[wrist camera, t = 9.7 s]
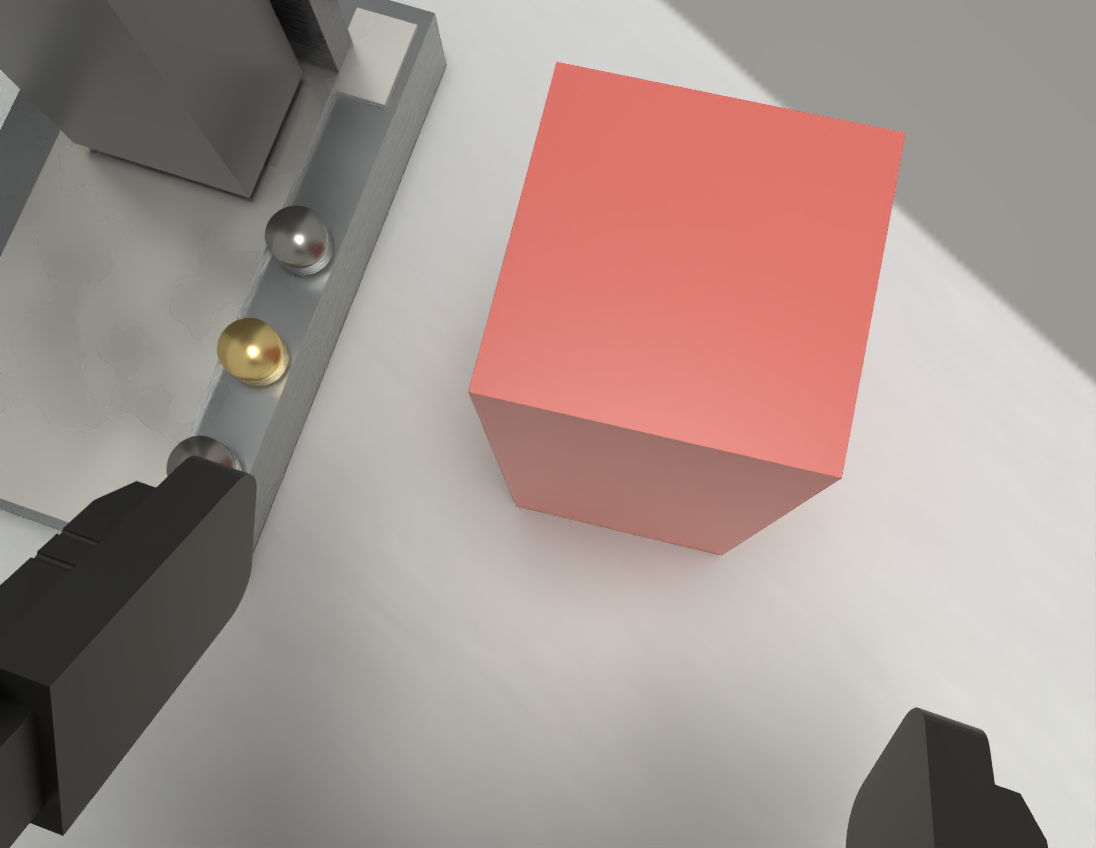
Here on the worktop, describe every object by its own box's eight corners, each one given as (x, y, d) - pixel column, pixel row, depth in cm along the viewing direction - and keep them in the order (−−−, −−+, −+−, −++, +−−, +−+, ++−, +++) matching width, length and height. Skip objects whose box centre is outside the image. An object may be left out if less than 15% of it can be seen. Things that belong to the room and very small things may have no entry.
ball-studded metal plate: (238, 587, 22) (140, 569, 17) (-94, 470, 22) (-281, 420, 18) (446, 64, 24) (413, -83, 19) (140, -26, 25) (35, -188, 20)
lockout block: (516, 506, 22) (468, 392, 12) (565, 312, 23) (556, 62, 13) (721, 555, 22) (842, 478, 12) (762, 357, 22) (906, 132, 13)
